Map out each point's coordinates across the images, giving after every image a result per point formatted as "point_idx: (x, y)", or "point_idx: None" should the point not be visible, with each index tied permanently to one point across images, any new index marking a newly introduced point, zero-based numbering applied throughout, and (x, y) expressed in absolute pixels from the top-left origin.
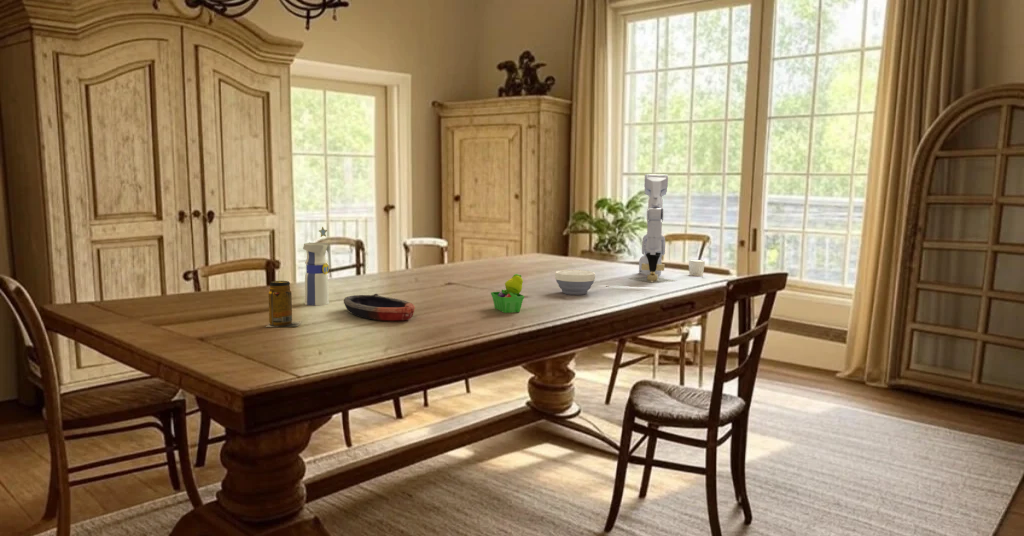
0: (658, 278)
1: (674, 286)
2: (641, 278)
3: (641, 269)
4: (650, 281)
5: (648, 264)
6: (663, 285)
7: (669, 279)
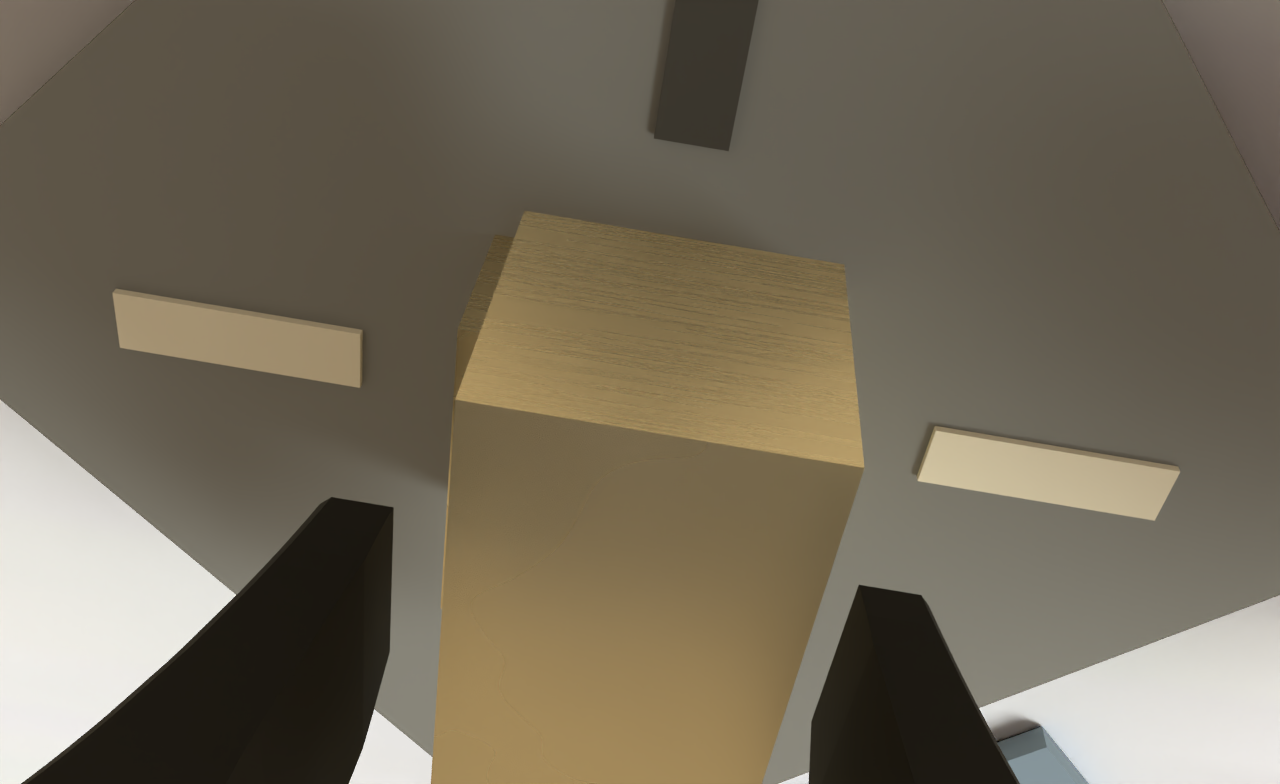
0: (949, 593)
1: (45, 689)
2: (907, 82)
3: (527, 219)
4: (180, 289)
5: (443, 692)
6: (90, 520)
7: (769, 778)
